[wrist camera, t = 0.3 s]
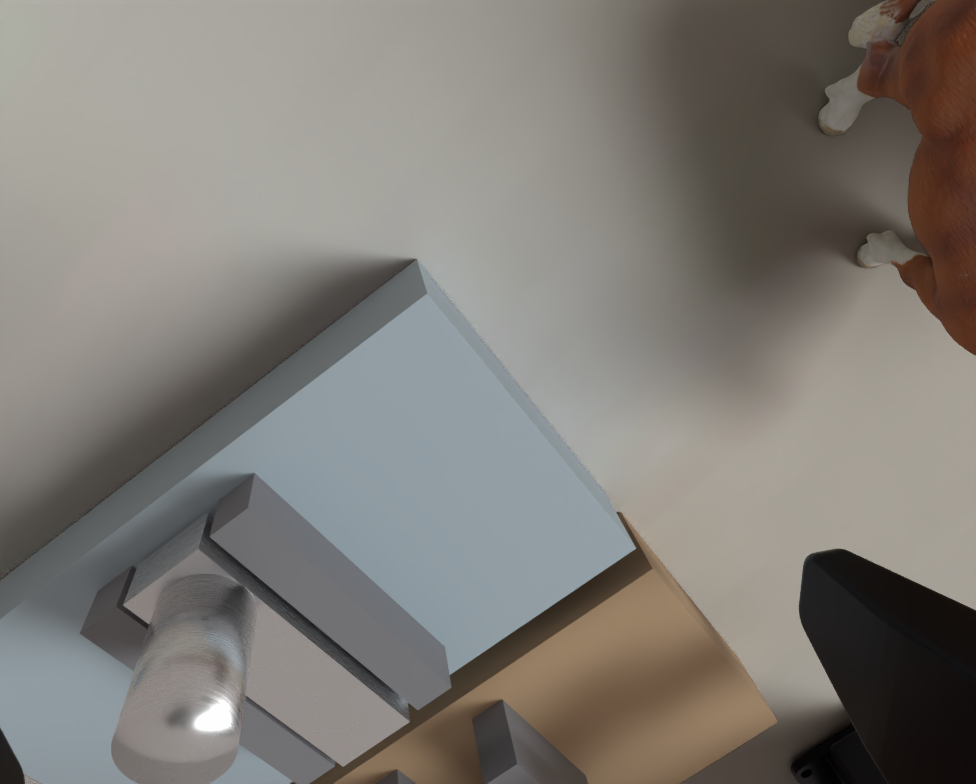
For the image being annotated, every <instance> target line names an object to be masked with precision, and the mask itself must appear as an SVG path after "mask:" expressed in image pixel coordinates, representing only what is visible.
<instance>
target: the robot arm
mask: <svg viewBox="0 0 976 784" xmlns="http://www.w3.org/2000/svg"><path fill="white" fill-rule="evenodd" d="M799 615H800V619H801V623H802V626H803V628H804V630H805V632H806V634H807V636H808V638H809V640H810V642H811V644H812V646H813V648H814V650H815V652H816V654H817V656H818V658H819V660H820V662H821V663H822V665H823V667H824V669H825V671H826V673H827V675H828V677H829V679H830V681H831V683H832V685H833V687H834V689H835V691H836V693H837V695H838V697H839V699H840V700H841V702H842V704H843V706H844V708H845V710H846V712H847V714H848V716H849V718H850V720H851V722H852V724H853V725H852V726H851V727H849V728H848V729H846V730H844V731H843V732H841V733H840V734H838V735H836V736H835V737H833V738H831V739H830V740H828V741H827V742H825V743H823V744H822V745H820V746H818V747H817V748H815V749H814V750H812V751H810V752H809V753H807V754H805V755H804V756H802V757H801V758H799V759H797V760H796V761H795V762H793V764H792V765H791V772H792V773H793V775H794V777H795V778H796V780H797V781H798V782H799V783H800V784H976V610H974V609H972V608H970V607H968V606H965V605H963V604H961V603H959V602H957V601H955V600H953V599H950V598H948V597H946V596H944V595H942V594H940V593H938V592H935V591H933V590H931V589H929V588H927V587H925V586H922V585H920V584H918V583H916V582H914V581H912V580H910V579H907V578H905V577H903V576H901V575H899V574H897V573H895V572H892V571H890V570H888V569H886V568H884V567H882V566H880V565H877V564H875V563H873V562H871V561H869V560H867V559H865V558H862V557H860V556H858V555H856V554H854V553H852V552H850V551H847V550H844V549H832V550H826V551H821V552H816V553H812V554H810V555H808V556H807V557H806V559H805V561H804V565H803V573H802V582H801V592H800V601H799ZM0 784H25V781H24V773H23V770H22V767H21V765H20V763H19V761H18V759H17V757H16V755H15V754H14V752H13V750H12V748H11V746H10V744H9V743H8V741H7V739H6V737H5V735H4V733H3V731H2V730H1V728H0Z"/></svg>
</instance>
